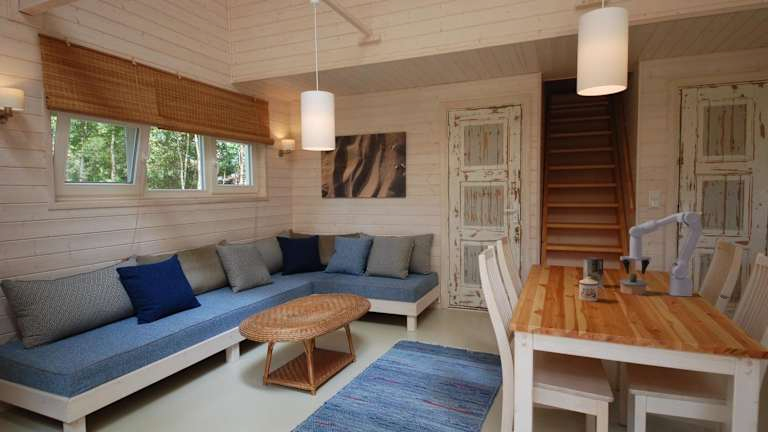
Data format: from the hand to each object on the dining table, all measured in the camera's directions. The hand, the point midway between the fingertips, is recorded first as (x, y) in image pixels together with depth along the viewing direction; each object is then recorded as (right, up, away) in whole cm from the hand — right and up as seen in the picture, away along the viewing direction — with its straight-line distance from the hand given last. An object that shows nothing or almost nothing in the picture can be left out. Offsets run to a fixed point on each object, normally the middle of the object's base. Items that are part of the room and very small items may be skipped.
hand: (635, 273), depth 235 cm
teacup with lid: (-31, -12, -15) cm, 36 cm away
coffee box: (-15, -9, +16) cm, 24 cm away
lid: (-2, -5, -2) cm, 6 cm away
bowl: (-2, -10, -1) cm, 10 cm away
